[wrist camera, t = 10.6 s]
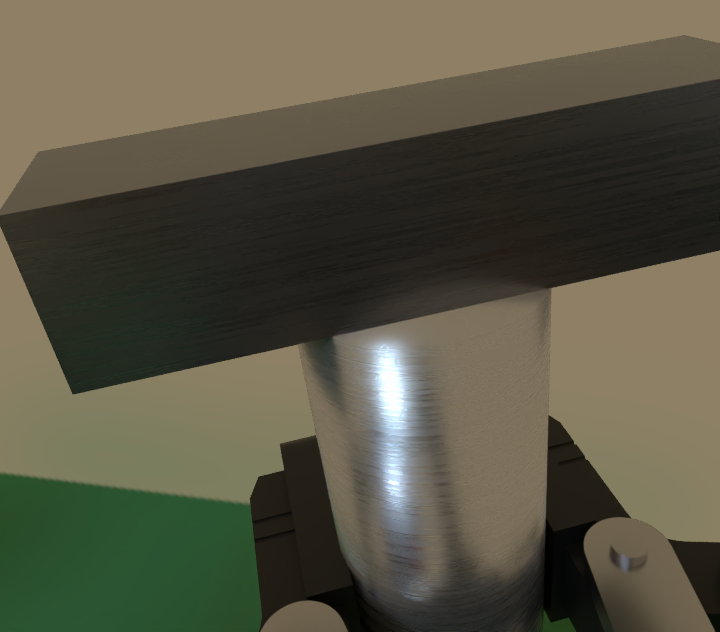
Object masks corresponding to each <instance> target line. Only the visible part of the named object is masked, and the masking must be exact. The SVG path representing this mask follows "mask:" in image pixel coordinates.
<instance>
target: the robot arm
mask: <svg viewBox="0 0 720 632" xmlns="http://www.w3.org/2000/svg"><path fill="white" fill-rule="evenodd" d="M280 447H281V454H282V459H283V465H284V471H280V472H276V473H272V474H268V475H264V476H260V477H258V480H257V482H256V485H255V487H254V490H253V492H252V495H251V497H250V504H251V514H252V522H253V532H254V540H255V551H256V561H257V570H258V579H259V589H260V598H261V607H262V621H261V627H260V630H259V632H362V628H361V623H360V618H359V613H358V608H357V603H356V598H355V593H354V588H353V583H352V579H351V575H350V571H349V567H348V565H347V563H346V561H345V559H344V558H343V555H342V552H341V549H340V546H339V542H338V537H337V532H336V527H335V523H334V518H333V513H332V508H331V503H330V498H329V493H328V489H327V484H326V479H325V474H324V469H323V464H322V459H321V455H320V450H319V446H318V442H317V438H316V435H315V436H311V437H307V438H302V439H298V440H294V441H290V442H286V443H282V444H280ZM544 610H545V612H546V614H547V616H548V618H549V620H550V622H554V621H557V620H561V619H564V618H568V617H569V619H570V620H571V622H572V624H573V626H574V628H575V630H576V632H720V543H719V542H684V541H675V540H670V539H667V538H665V536H664V535H663V534H662V533H660V532H659V531H658V530H657V529H655V528H654V527H652V526H651V525H648V524H646V523H644V522H642V521H639V520H636V519H631V517H630V516H629V515H628V514H627V513H626V511H625V510H624V508H623V507H622V506H621V504H620V503H619V502H618V500H617V499H616V498H615V496H614V495H613V494H612V492H611V491H610V490H609V488H608V487H607V486H606V484H605V483H604V482H603V480H602V479H601V477H600V476H599V475H598V473H597V472H596V471H595V469H594V468H593V466H592V465H591V464H590V462H589V461H588V460H586V459H585V456H584V455H583V453H582V452H581V451H580V449H579V447H578V446H577V445H575V444H574V441H573V440H572V438H571V437H570V435H569V434H568V433H567V431H566V430H565V429H564V428H563V426H562V425H561V423H560V422H558V421H557V420H555V419H554V418H552V417H551V416H549V415H548V449H547V489H546V530H545V571H544Z"/></svg>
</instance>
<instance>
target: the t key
mask: <svg viewBox="0 0 720 632" xmlns="http://www.w3.org/2000/svg"><path fill="white" fill-rule="evenodd" d="M0 227H1V229H2V231H3V234H4V236H5V238H6V241H7V243H8V245H9V247H10V250H11V252H12V254H13V257H14V259H15V261H16V264H17V266H18V268H19V271H20V273H21V275H22V278H23V280H24V282H25V284H26V287H27V289H28V291H29V294H30V296H31V298H32V301H33V303H34V306H35V307H36V310H37V312H38V315H39V317H40V319H41V322H42V324H43V326H44V329H45V331H46V333H47V335H48V338H49V340H50V343H51V345H52V347H53V350H54V352H55V354H56V357H57V359H58V361H59V363H60V366H61V368H62V371H63V373H64V375H65V377H66V380H67V382H68V384H69V387H70V389H71V391H72V394H77V393H82V392H86V391H90V390H95V389H99V388H104V387H108V386H113V385H117V384H122V383H127V382H131V381H136V380H140V379H145V378H149V377H154V376H158V375H163V374H167V373H171V372H176V371H181V370H185V369H190V368H194V367H199V366H203V365H208V364H212V363H216V362H221V361H225V360H230V359H235V358H239V357H243V356H248V355H252V354H257V353H261V352H266V351H270V350H275V349H279V348H284V347H288V346H293V345H297V344H298V348H299V353H300V357H301V362H302V367H303V372H304V377H305V382H306V386H307V391H308V396H309V401H310V406H311V411H312V416H313V421H314V425H315V430H316V435H317V440H318V445H319V450H320V455H321V459H322V464H323V469H324V474H325V479H326V484H327V489H328V493H329V498H330V503H331V508H332V513H333V518H334V523H335V527H336V532H337V537H338V542H339V546H340V549H341V552H342V555H343V558H344V559H345V561H346V563H347V565H348V567H349V571H350V575H351V579H352V583H353V588H354V593H355V598H356V603H357V608H358V613H359V618H360V623H361V628H362V632H543V611H544V571H545V530H546V489H547V449H548V408H549V366H550V326H551V288H553V287H558V286H562V285H567V284H571V283H576V282H580V281H584V280H589V279H594V278H598V277H603V276H607V275H611V274H616V273H620V272H625V271H630V270H634V269H639V268H643V267H647V266H652V265H657V264H661V263H666V262H670V261H675V260H679V259H684V258H688V257H692V256H697V255H702V254H706V253H711V252H715V251H719V250H720V43H716V42H711V41H707V40H703V39H698V38H694V37H690V36H685V35H684V36H678V37H673V38H667V39H662V40H656V41H650V42H645V43H640V44H634V45H628V46H622V47H617V48H611V49H606V50H600V51H595V52H589V53H584V54H578V55H573V56H567V57H561V58H556V59H550V60H545V61H539V62H534V63H528V64H523V65H517V66H512V67H506V68H500V69H495V70H489V71H484V72H478V73H473V74H468V75H462V76H457V77H451V78H445V79H440V80H434V81H428V82H423V83H417V84H412V85H406V86H401V87H395V88H390V89H384V90H379V91H373V92H367V93H362V94H356V95H351V96H345V97H340V98H334V99H329V100H324V101H317V102H312V103H306V104H301V105H295V106H290V107H284V108H279V109H273V110H268V111H262V112H257V113H251V114H246V115H240V116H234V117H229V118H224V119H218V120H212V121H207V122H201V123H196V124H190V125H184V126H179V127H173V128H168V129H163V130H157V131H151V132H146V133H140V134H135V135H129V136H124V137H118V138H112V139H107V140H101V141H96V142H90V143H85V144H79V145H74V146H68V147H63V148H57V149H52V150H46V151H40V152H38V153H37V155H36V156H35V158H34V159H33V161H32V162H31V164H30V165H29V167H28V168H27V170H26V171H25V173H24V174H23V176H22V178H21V179H20V180H19V182H18V184H17V185H16V187H15V188H14V190H13V191H12V193H11V194H10V196H9V197H8V199H7V200H6V202H5V203H4V205H3V206H2V208H1V209H0Z"/></svg>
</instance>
